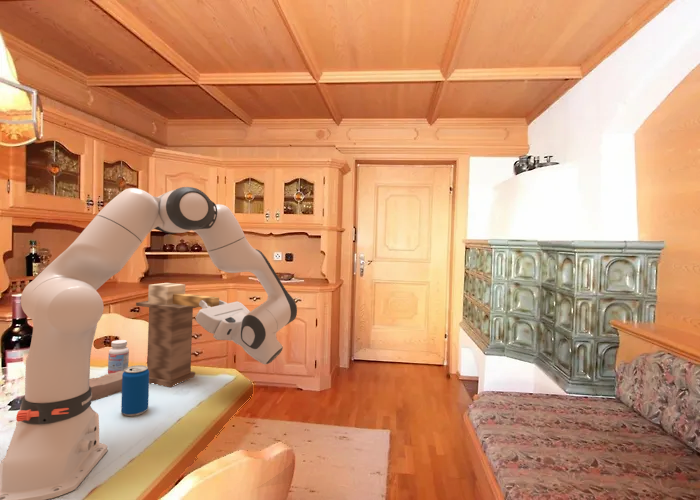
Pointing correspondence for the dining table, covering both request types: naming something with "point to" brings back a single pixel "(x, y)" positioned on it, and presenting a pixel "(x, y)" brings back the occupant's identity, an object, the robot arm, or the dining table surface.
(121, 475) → the dining table surface
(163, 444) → the dining table surface
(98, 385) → the brick
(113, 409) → the dining table surface
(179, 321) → the walnut shelf post
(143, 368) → the beverage can
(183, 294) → the beech mallet
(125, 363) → the pill bottle
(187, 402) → the dining table surface
